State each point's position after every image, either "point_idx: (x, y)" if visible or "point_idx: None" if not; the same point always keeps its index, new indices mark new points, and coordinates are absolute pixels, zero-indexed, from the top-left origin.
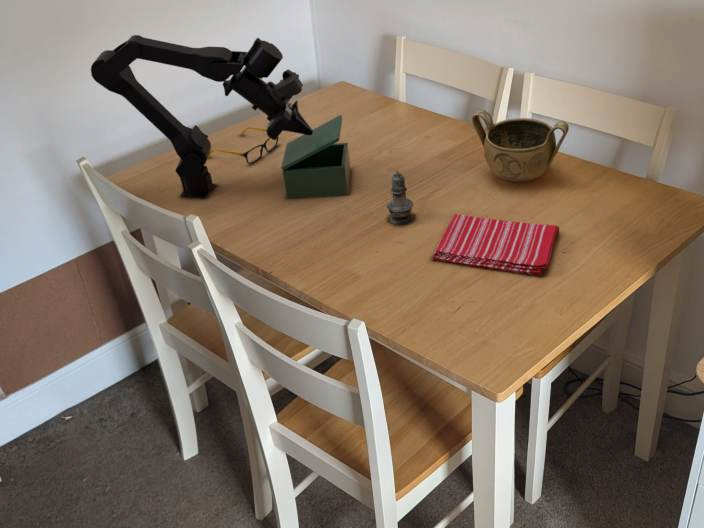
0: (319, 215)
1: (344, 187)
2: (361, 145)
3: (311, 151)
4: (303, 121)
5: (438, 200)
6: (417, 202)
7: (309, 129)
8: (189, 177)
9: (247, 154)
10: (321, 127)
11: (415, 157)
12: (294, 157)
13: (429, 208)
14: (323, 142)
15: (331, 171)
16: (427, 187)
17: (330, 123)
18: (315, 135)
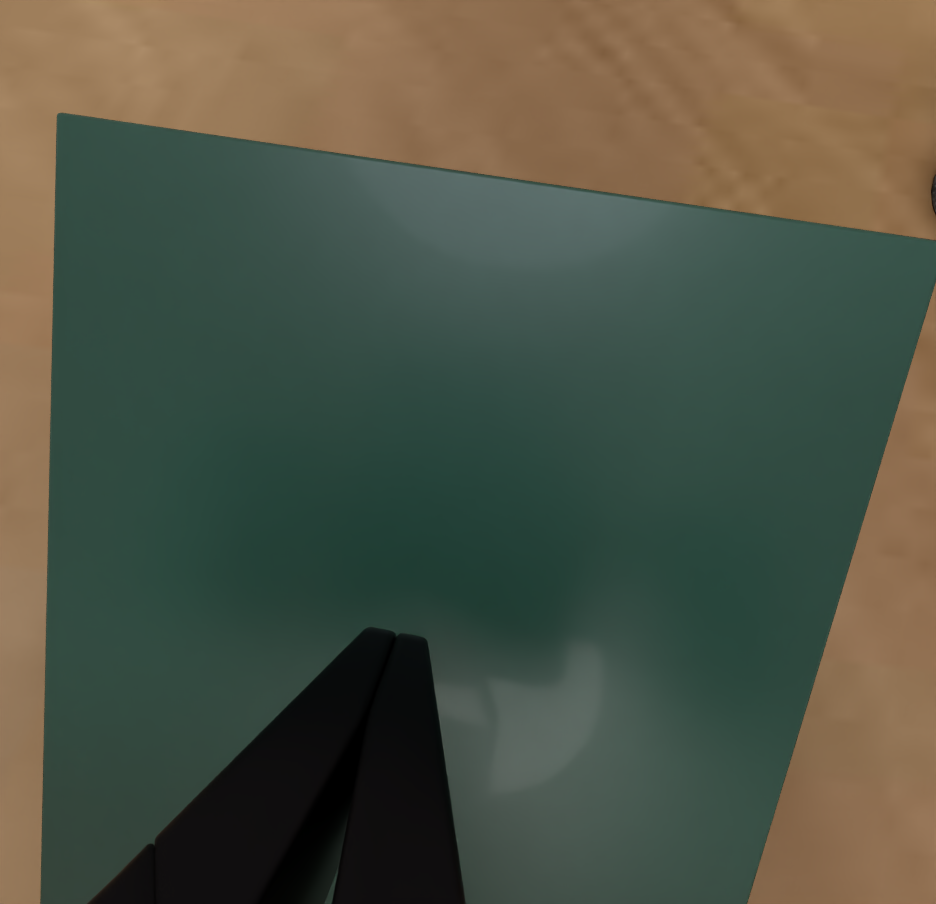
0: (894, 671)
1: None
2: (20, 285)
3: (795, 707)
4: (279, 872)
5: (828, 9)
6: (830, 101)
7: (435, 704)
8: None
9: None
10: (139, 476)
11: (315, 34)
12: None
13: (905, 59)
14: (746, 499)
15: None
16: (676, 33)
17: (178, 320)
18: (302, 592)
